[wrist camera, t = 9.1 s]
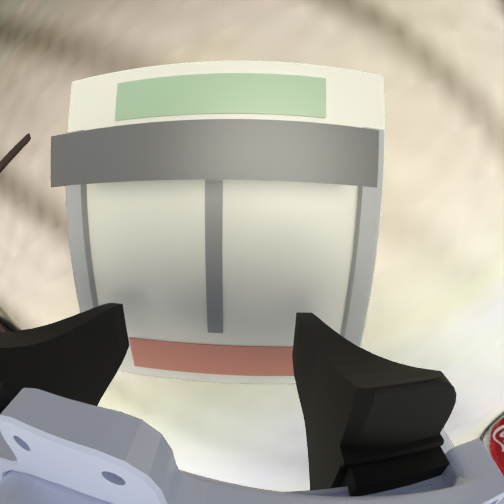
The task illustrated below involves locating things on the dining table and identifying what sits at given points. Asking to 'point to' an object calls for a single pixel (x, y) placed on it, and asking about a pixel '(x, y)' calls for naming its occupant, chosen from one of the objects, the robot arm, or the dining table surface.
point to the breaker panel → (225, 224)
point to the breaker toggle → (217, 152)
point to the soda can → (496, 442)
